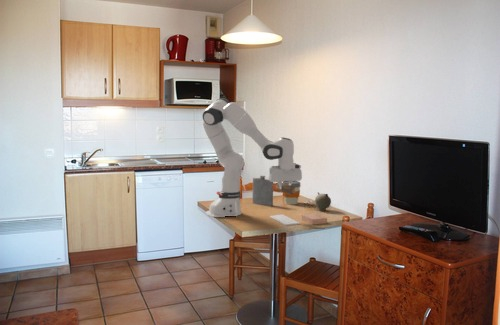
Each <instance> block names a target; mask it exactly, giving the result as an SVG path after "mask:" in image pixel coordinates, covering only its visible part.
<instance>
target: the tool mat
mask: <svg viewBox="0 0 500 325" xmlns="http://www.w3.org/2000/svg"><path fill="white" fill-rule="evenodd" d="M269 218H271V219H273V220H275V221H277V222H278V223H279V224H280V223H281V224H282V225H284V226H294V225H295V226H296V225H300V222H299V221H297V220H294V219H293V218H290V217H289V216H287V215H285V214H274V215H269Z"/></svg>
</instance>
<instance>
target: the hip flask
mask: <svg viewBox="0 0 500 325" xmlns="http://www.w3.org/2000/svg"><path fill="white" fill-rule="evenodd" d="M265 178H266V175H260V176H259V177H253V178H252V204H254V203H256V204H255V205H259V204H260V206H268V207H273V205H274V182H270V181H269V179H267V178H266V179H265Z"/></svg>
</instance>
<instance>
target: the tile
mask: <svg viewBox="0 0 500 325" xmlns="http://www.w3.org/2000/svg"><path fill="white" fill-rule="evenodd" d="M301 221H303V222H306V223H308V224H310V225H321V224H327V223H328V218H327V217H325V216H323V215H321V214H319V213H308V214H307V213H306V214H302V215H301Z"/></svg>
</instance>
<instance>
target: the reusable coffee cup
mask: <svg viewBox="0 0 500 325" xmlns="http://www.w3.org/2000/svg"><path fill="white" fill-rule="evenodd" d="M282 183H284V184H287V185H289V181H284V182H282ZM291 186H293V187H295V194H291V195H289V194H287V193H284V192H282V193H283V198H284V204H286V205H298V202H299V197H300V193H301V190H300V188H301V186H302V185H301V182H300V181H293V183H292V185H291Z"/></svg>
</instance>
